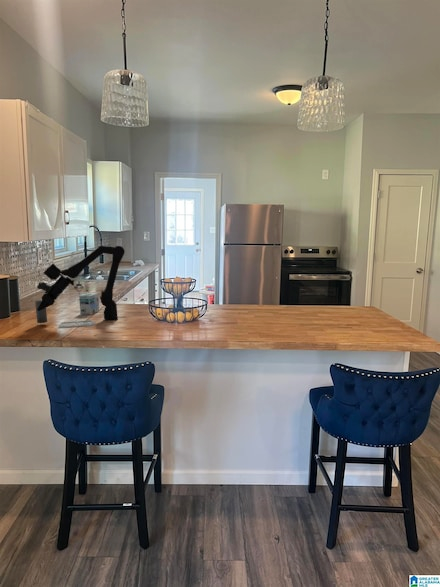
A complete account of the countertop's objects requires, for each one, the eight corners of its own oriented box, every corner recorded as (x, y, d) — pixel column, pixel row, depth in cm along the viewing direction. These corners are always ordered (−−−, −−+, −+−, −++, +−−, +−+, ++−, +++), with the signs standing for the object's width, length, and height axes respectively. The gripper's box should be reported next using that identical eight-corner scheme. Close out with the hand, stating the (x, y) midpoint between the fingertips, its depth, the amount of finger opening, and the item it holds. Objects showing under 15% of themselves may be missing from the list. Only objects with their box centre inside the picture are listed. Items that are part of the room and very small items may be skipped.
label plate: (93, 321, 217) (93, 319, 217) (92, 325, 207) (92, 324, 207) (61, 323, 213) (61, 322, 213) (58, 328, 203) (58, 326, 203)
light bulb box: (90, 314, 233) (89, 295, 232) (79, 314, 235) (78, 295, 233) (99, 310, 244) (98, 292, 242) (89, 310, 245) (88, 292, 243)
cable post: (49, 321, 212) (47, 299, 210) (43, 323, 208) (41, 301, 206) (41, 320, 214) (39, 299, 212) (35, 322, 209) (32, 301, 207)
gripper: (48, 273, 217) (27, 296, 215) (44, 278, 199) (21, 302, 198) (65, 287, 220) (45, 309, 219) (63, 293, 203) (41, 317, 201)
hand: (38, 309), depth 209 cm, fingers closed on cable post, 5 cm apart
